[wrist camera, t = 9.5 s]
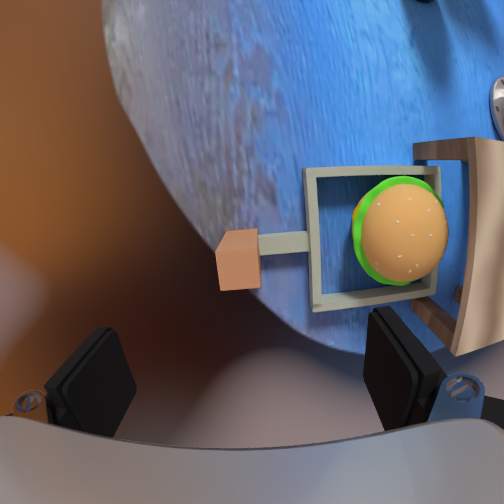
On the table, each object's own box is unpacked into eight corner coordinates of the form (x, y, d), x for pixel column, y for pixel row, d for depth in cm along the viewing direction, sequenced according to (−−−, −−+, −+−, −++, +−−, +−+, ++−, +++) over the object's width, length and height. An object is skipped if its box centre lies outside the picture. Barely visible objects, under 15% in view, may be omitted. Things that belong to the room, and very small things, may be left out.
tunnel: (470, 148, 30) (533, 147, 18) (464, 297, 35) (513, 335, 24) (412, 143, 30) (474, 136, 19) (410, 308, 36) (455, 356, 24)
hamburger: (324, 200, 33) (346, 210, 24) (409, 159, 31) (448, 159, 23) (362, 288, 35) (387, 320, 27) (437, 246, 34) (476, 266, 25)
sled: (429, 166, 31) (473, 168, 22) (426, 287, 35) (461, 316, 26) (220, 175, 32) (206, 177, 23) (236, 309, 36) (229, 350, 28)
